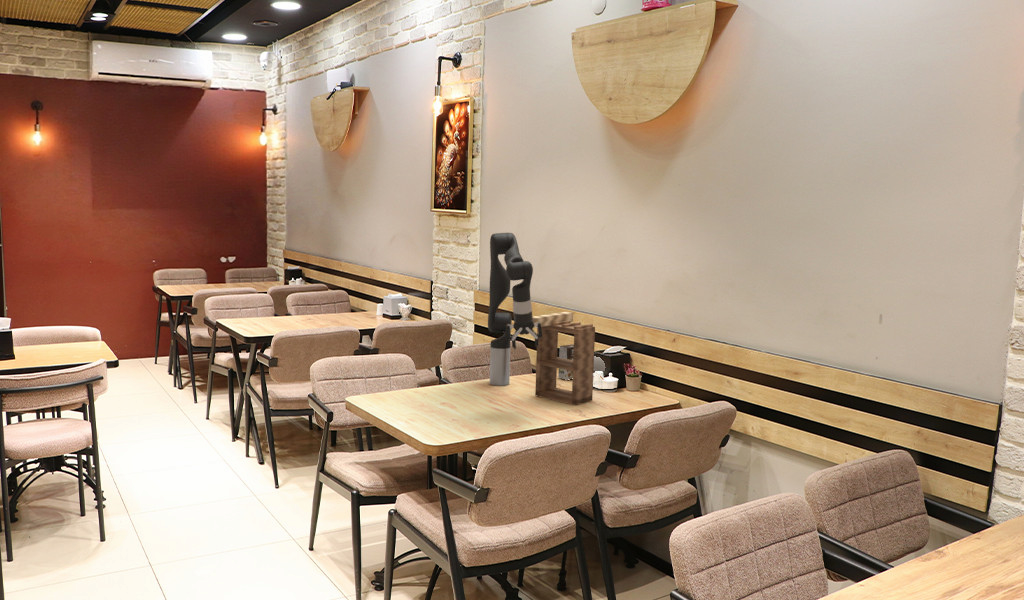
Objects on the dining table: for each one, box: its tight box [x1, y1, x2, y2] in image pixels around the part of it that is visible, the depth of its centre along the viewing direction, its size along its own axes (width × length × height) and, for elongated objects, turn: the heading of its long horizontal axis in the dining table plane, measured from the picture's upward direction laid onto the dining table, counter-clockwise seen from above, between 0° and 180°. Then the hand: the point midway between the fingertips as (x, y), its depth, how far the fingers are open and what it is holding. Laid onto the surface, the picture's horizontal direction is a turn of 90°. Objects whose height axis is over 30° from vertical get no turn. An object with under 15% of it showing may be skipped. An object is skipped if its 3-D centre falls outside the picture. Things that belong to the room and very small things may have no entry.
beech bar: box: [532, 311, 574, 329], centre depth 341 cm, size 26×4×4 cm, turn 138°
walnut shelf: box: [534, 321, 596, 406], centre depth 342 cm, size 12×22×33 cm, turn 48°
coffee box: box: [557, 343, 574, 381], centre depth 380 cm, size 9×6×16 cm
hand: (525, 347), depth 322 cm, fingers open, 8 cm apart
